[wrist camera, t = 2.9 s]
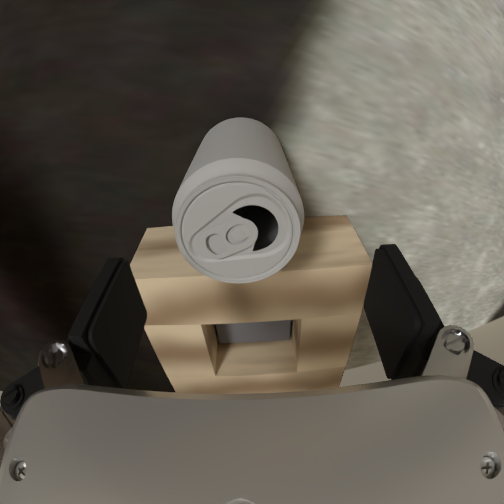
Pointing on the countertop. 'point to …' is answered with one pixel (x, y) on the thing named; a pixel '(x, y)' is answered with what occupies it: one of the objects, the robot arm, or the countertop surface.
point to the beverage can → (238, 205)
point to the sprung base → (254, 331)
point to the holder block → (256, 313)
